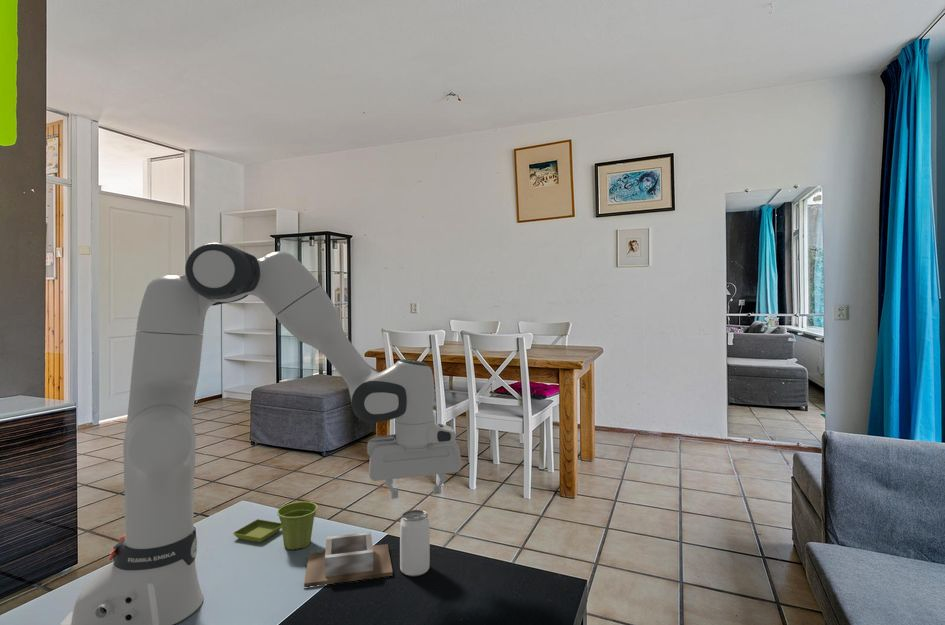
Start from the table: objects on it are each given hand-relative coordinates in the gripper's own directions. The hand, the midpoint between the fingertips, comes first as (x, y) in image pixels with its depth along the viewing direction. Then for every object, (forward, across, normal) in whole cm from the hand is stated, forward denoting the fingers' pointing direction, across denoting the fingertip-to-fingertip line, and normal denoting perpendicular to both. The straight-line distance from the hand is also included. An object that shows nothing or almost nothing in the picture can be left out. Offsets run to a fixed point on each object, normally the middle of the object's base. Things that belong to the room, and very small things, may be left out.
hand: (416, 495), depth 108 cm
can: (+16, 0, 0) cm, 17 cm away
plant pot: (+16, -26, +19) cm, 36 cm away
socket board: (+17, -14, +5) cm, 23 cm away
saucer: (+16, -36, +27) cm, 48 cm away
